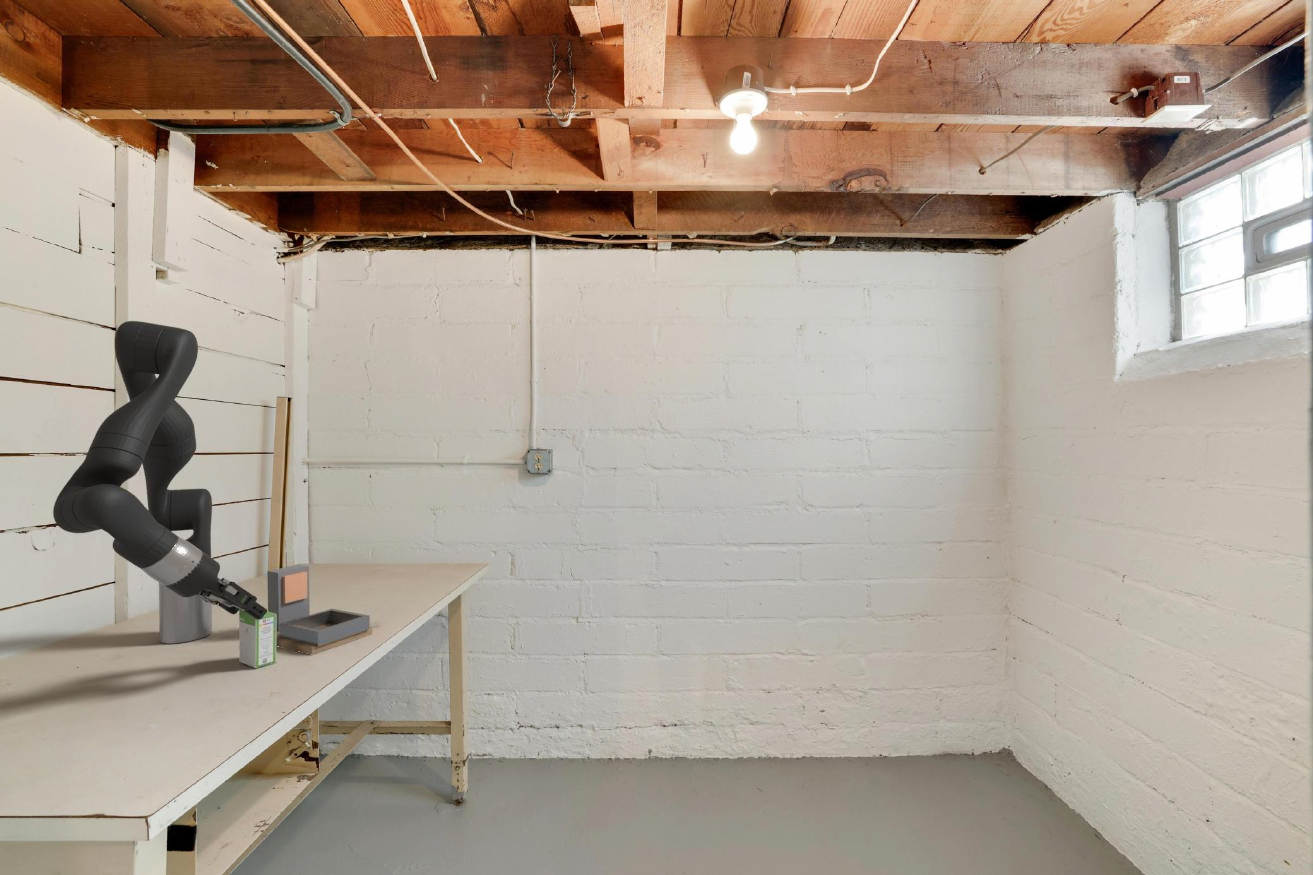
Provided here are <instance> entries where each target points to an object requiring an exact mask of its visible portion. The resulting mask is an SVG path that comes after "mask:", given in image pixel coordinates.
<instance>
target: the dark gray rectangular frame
mask: <svg viewBox="0 0 1313 875" xmlns="http://www.w3.org/2000/svg"><path fill="white" fill-rule="evenodd" d="M370 616H371V615H369V614H362V613H358V612H353V611H346V610H342V609H338V608H337V609H336V608H330V609H326V610H323V611H322V610H321V611H319V612H315V613H312V614H310V615H308V616H304V617H301V618H297V619H294V620H290V621H287V622H283V623H280V638H284V639H288V640H292V641H296V642H301V643H305V644H309V645H313V646H321V645H324V644H327V643H330V642H333V641H336V640H339V639H342V638H345V637H348V636H351V635H354V634H356V633H359V632H362V631H365V630H368V629H370V627H371V622H370V619H371V618H370ZM330 623H332V624H336V625H333V626H330V627H327V628H324V629H320V630H318V629H314V628H317V627H320V626H324V625H327V624H330Z"/></svg>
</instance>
